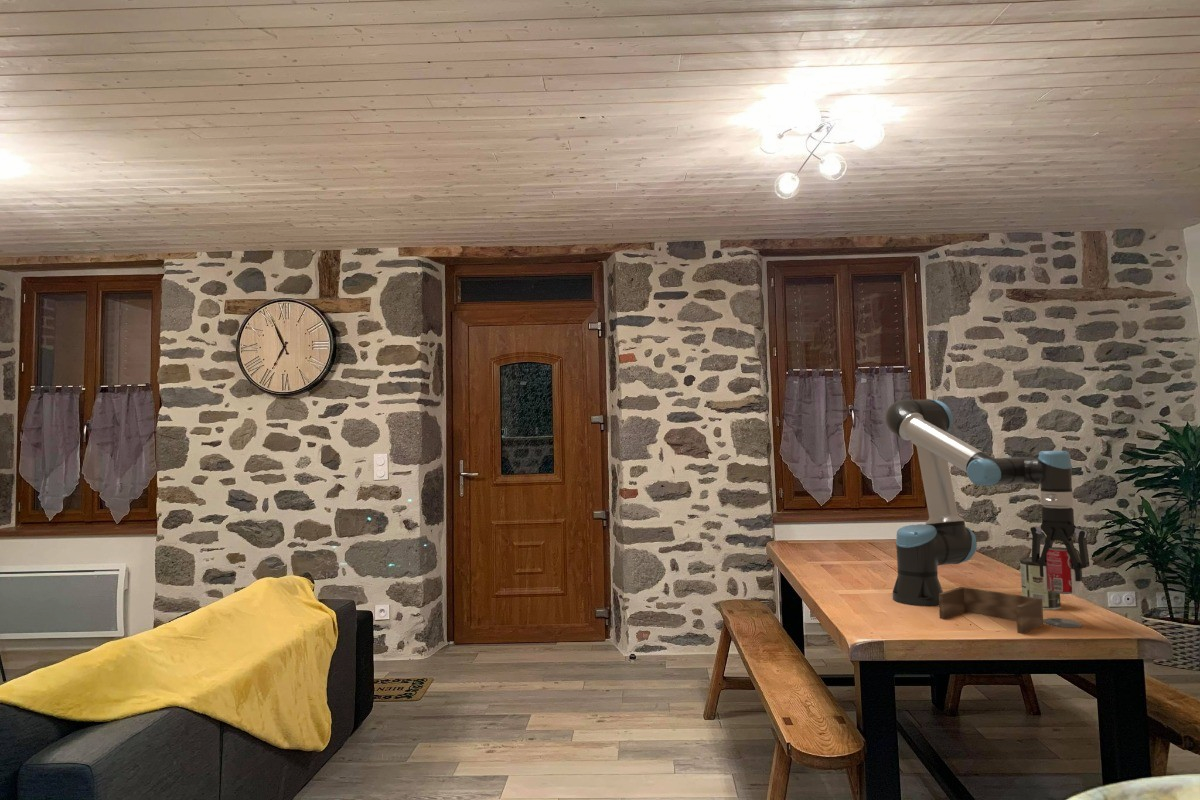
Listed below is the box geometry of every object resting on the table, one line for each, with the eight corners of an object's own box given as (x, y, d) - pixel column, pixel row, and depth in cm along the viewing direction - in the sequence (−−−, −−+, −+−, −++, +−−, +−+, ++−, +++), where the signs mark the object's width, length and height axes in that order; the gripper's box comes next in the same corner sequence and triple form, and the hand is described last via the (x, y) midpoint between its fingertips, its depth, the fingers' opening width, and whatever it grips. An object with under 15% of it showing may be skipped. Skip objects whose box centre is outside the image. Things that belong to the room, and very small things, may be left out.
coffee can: (1053, 603, 228) (1051, 556, 228) (1067, 611, 217) (1064, 562, 218) (1016, 602, 230) (1014, 556, 230) (1028, 610, 220) (1026, 562, 220)
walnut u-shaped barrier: (939, 619, 211) (938, 593, 211) (962, 611, 219) (961, 586, 220) (1022, 634, 194) (1021, 607, 194) (1043, 625, 202) (1042, 598, 203)
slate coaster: (1037, 624, 204) (1037, 622, 204) (1050, 618, 209) (1050, 616, 209) (1074, 630, 197) (1074, 628, 197) (1087, 624, 202) (1086, 622, 202)
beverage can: (1071, 590, 205) (1069, 547, 206) (1077, 595, 199) (1075, 550, 200) (1045, 589, 207) (1043, 546, 208) (1051, 594, 201) (1049, 549, 202)
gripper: (1014, 505, 209) (1018, 588, 208) (1092, 509, 195) (1096, 598, 193) (1025, 503, 214) (1029, 584, 213) (1102, 507, 199) (1106, 594, 198)
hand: (1061, 591), depth 203 cm, fingers closed on beverage can, 6 cm apart
